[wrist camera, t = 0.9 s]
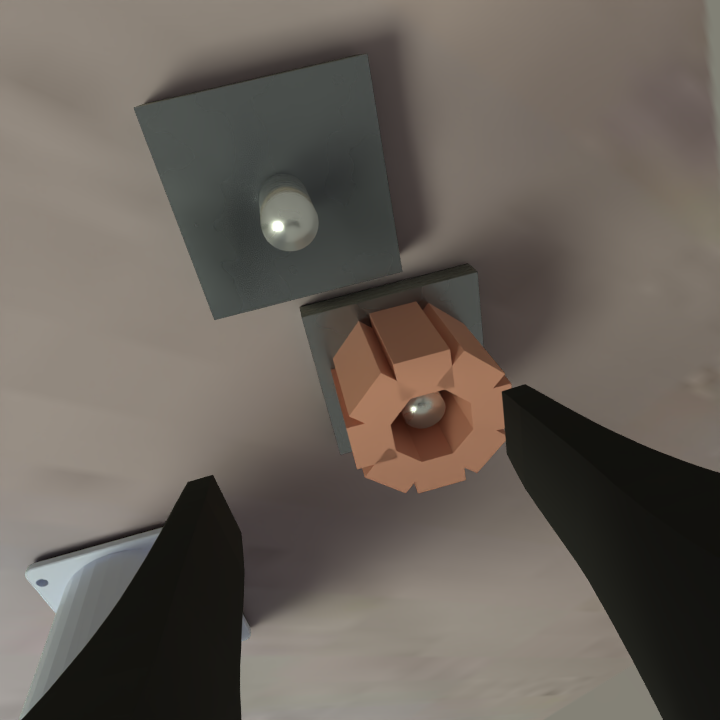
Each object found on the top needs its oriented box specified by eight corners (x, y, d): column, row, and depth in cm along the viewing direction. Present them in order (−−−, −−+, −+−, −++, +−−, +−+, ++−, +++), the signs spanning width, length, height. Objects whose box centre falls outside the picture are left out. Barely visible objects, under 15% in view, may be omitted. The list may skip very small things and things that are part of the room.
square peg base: (392, 258, 20) (426, 304, 17) (216, 303, 20) (208, 360, 16) (358, 54, 17) (390, 52, 13) (142, 104, 16) (109, 116, 13)
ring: (476, 407, 24) (515, 465, 20) (349, 442, 23) (367, 507, 20) (465, 288, 20) (508, 333, 17) (319, 326, 20) (333, 380, 17)
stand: (480, 401, 25) (518, 456, 21) (337, 441, 24) (351, 502, 21) (468, 263, 21) (510, 302, 18) (299, 307, 21) (309, 355, 17)
